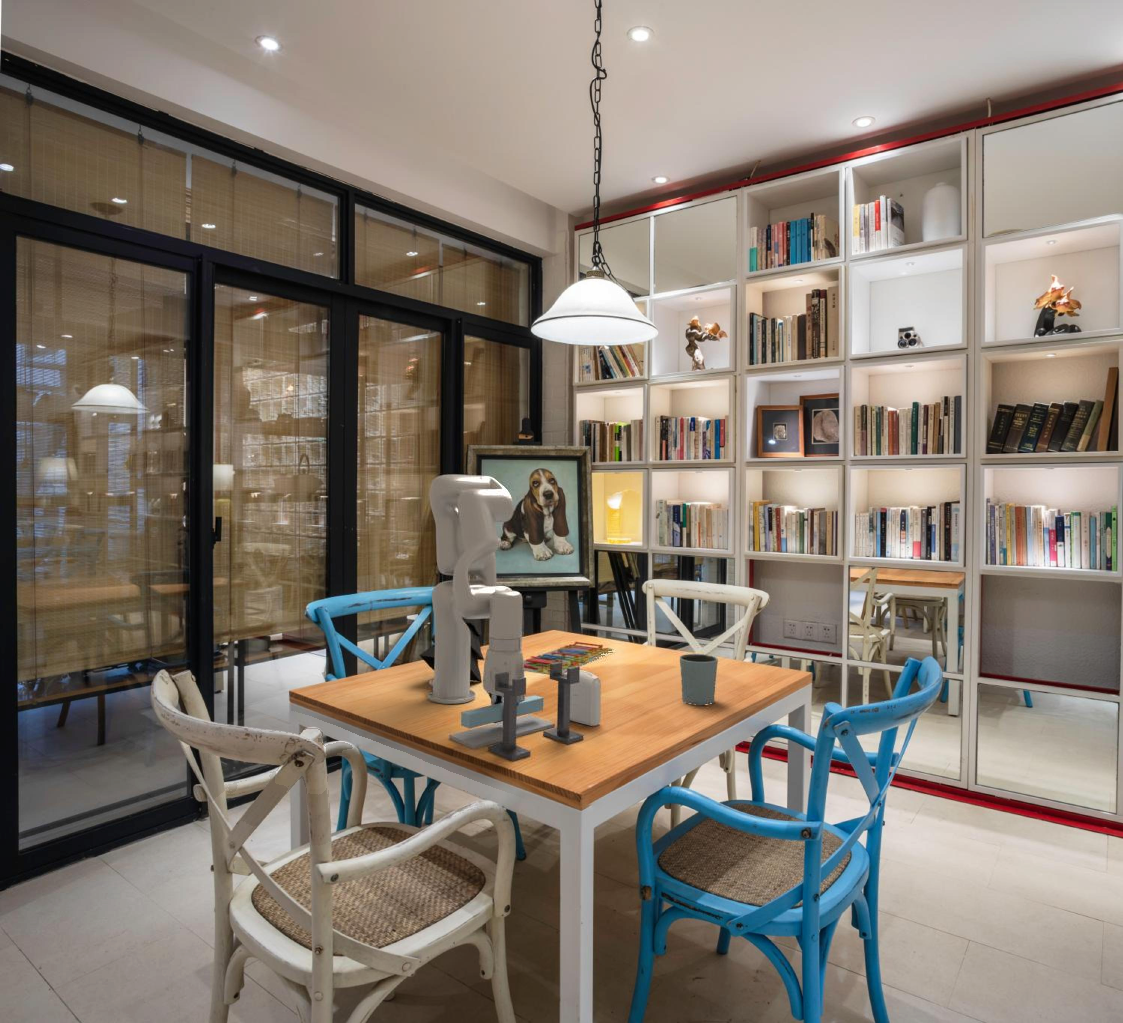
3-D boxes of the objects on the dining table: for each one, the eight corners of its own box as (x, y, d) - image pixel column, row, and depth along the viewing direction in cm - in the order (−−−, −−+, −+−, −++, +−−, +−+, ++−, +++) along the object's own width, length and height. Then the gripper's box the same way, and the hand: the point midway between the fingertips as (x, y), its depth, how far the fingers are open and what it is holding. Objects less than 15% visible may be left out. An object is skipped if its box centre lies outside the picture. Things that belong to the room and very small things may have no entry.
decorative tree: (478, 695, 215) (511, 590, 233) (458, 674, 204) (494, 565, 222) (434, 689, 220) (470, 586, 239) (412, 668, 209) (451, 563, 227)
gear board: (556, 669, 227) (504, 661, 236) (556, 677, 227) (504, 669, 236) (619, 645, 266) (571, 639, 276) (618, 652, 266) (571, 646, 276)
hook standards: (488, 751, 158) (489, 674, 158) (558, 731, 173) (560, 660, 173) (512, 761, 153) (513, 681, 152) (583, 739, 167) (585, 666, 167)
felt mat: (449, 738, 166) (449, 735, 166) (529, 718, 183) (529, 714, 183) (473, 749, 160) (473, 745, 159) (554, 726, 176) (554, 723, 176)
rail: (461, 725, 164) (461, 712, 164) (534, 707, 180) (535, 695, 180) (469, 728, 162) (469, 715, 162) (543, 710, 178) (543, 697, 178)
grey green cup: (721, 700, 203) (722, 656, 203) (709, 709, 194) (710, 663, 194) (686, 694, 208) (687, 652, 208) (673, 702, 199) (674, 658, 199)
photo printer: (559, 718, 183) (560, 668, 183) (571, 715, 186) (572, 666, 186) (591, 728, 176) (592, 676, 176) (603, 724, 179) (604, 673, 179)
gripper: (470, 641, 174) (469, 718, 174) (515, 652, 162) (514, 736, 163) (495, 637, 179) (494, 713, 180) (541, 648, 167) (539, 729, 168)
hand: (503, 723), depth 171 cm, fingers closed on rail, 3 cm apart
